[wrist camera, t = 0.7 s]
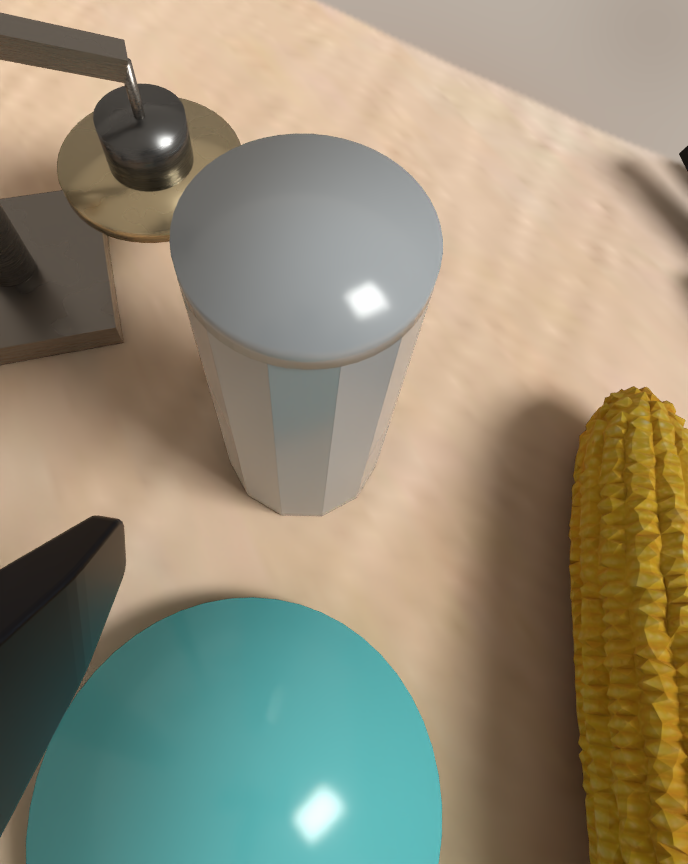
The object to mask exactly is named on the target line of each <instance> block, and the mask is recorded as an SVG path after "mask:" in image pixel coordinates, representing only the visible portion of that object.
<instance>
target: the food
mask: <svg viewBox="0 0 688 864" xmlns="http://www.w3.org/2000/svg"><path fill="white" fill-rule="evenodd" d="M675 413H676V410H675V408H674V406H673V404H672V403H670V402H668V401H663V402H661V401H660V400H659V399H658V398H657V397H656V396H655V395H654V394H653V393H652V392H651V391H650V389H649V388H648V387H644V388H641V389H638V388H636V387H635V386H633V387H631V388H629V389H627V390H622V389H621V390H620V391H619V392H617V393H611V394H610V396H609V397H606V398H605V400H604V404H603V406H602V407H600V408H599V409H598V410H597V411H596V412H595V413H594V415H593V416H592V417H591V419H590V420H589V422H588V423H587V424H586V431H584V432H583V433H582V434H581V435H580V436H579V449H578V452H577V455H576V459H575V470H574V474H573V477H574V481H575V483H574V484H573V486H572V495H573V496H572V498H571V499H572V510H571V519H570V523H569V526H570V531H569V535H568V536H569V538H570V540H571V546H570V565H569V570H570V578H571V593H570V599H571V600H572V621H573V638H574V659H573V660H574V664H575V689H576V710H577V720H578V726H579V732H580V738H579V741H578V744H579V745H580V747H581V748H582V751H581V752H580V754H579V758H580V760H581V763H582V769H583V777H584V779H583V784H582V786H583V788H584V790H585V792H586V794H587V795H586V799H585V805H586V818H587V830H588V836H589V859H590V864H688V429H686V428H683V426H684V422H685V420H684V419H683V418H681V417H679V416H677V415H675Z"/></svg>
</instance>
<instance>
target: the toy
mask: <svg viewBox="0 0 688 864" xmlns="http://www.w3.org/2000/svg"><path fill="white" fill-rule="evenodd" d="M679 155H680V157H681V159H682V161H683V163H684V165H685V167H686V169H687V171H688V146H687V147H686V148H685V149H684V150H683V151H681V152H680V153H679Z"/></svg>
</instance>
